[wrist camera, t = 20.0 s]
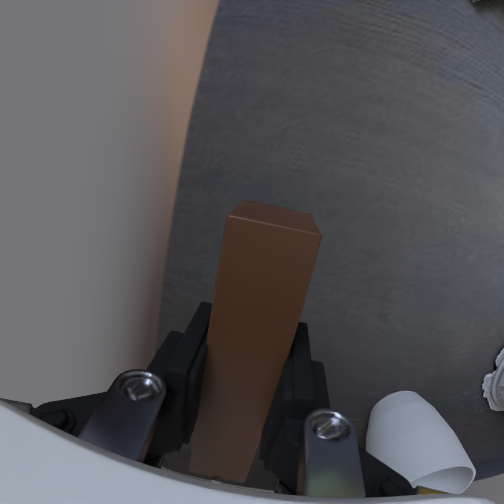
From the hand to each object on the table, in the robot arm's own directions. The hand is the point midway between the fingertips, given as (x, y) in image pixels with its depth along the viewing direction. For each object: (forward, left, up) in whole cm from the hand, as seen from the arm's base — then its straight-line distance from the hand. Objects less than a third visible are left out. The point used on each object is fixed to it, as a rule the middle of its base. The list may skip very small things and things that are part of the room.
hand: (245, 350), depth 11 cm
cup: (+18, +3, -11) cm, 22 cm away
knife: (+4, -3, -1) cm, 5 cm away
